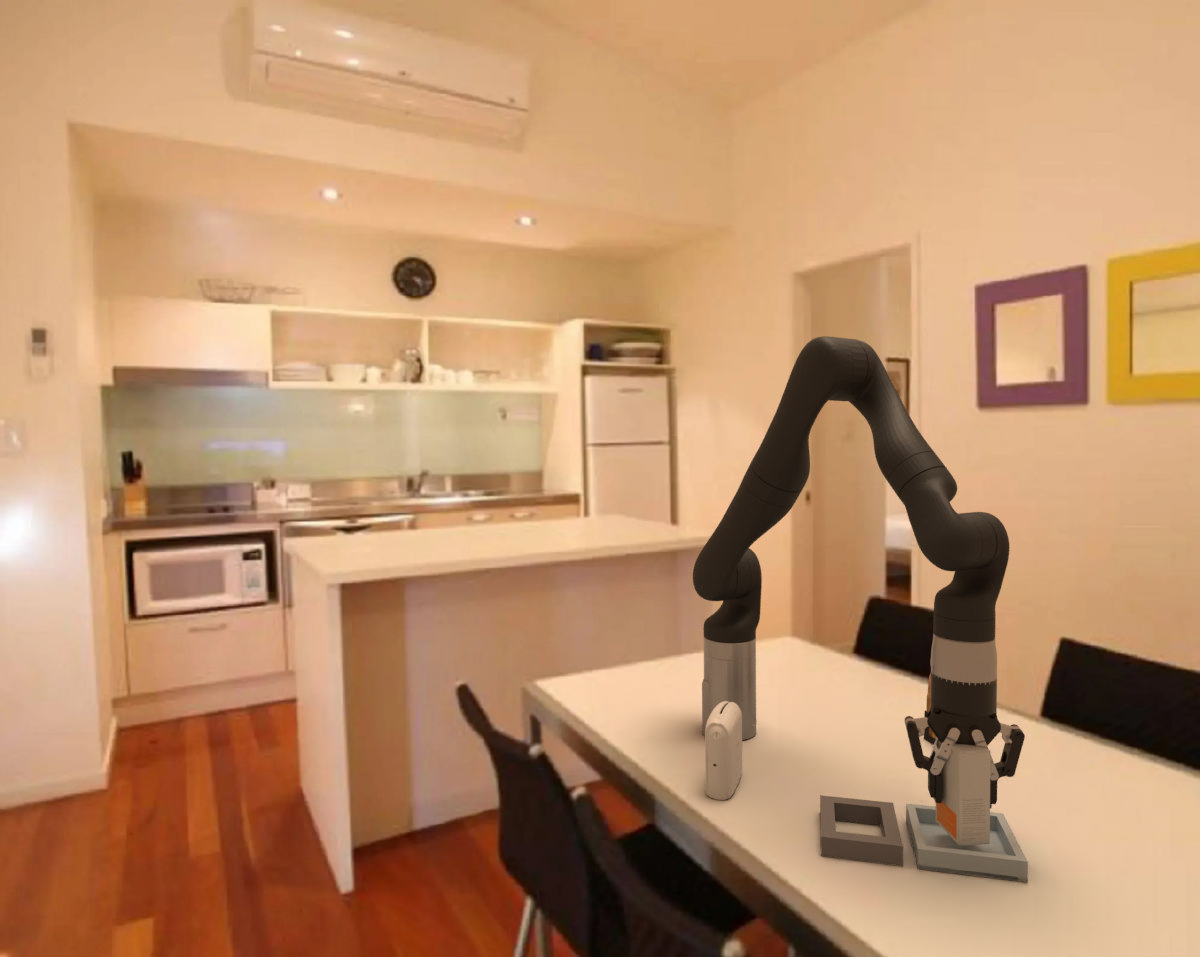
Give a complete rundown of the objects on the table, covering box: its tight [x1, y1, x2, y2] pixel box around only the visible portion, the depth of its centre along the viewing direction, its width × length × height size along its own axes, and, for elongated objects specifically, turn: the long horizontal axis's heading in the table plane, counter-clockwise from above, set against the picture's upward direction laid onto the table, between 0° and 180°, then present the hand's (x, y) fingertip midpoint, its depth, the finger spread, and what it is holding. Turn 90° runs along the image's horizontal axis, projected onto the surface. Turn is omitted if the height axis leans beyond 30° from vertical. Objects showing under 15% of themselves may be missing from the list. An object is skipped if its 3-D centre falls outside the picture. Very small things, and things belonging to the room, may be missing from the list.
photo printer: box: [704, 701, 743, 801], centre depth 117 cm, size 10×4×12 cm, turn 158°
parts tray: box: [905, 803, 1029, 883], centre depth 98 cm, size 12×12×2 cm
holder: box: [819, 794, 904, 867], centre depth 101 cm, size 10×12×2 cm
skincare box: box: [935, 737, 991, 845], centre depth 98 cm, size 6×4×12 cm
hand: (962, 802), depth 98 cm, fingers closed on skincare box, 5 cm apart
